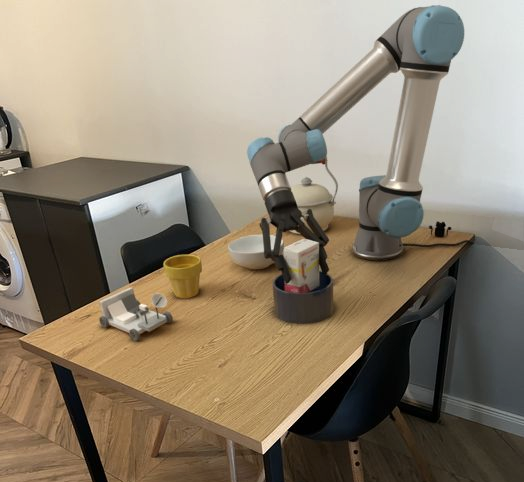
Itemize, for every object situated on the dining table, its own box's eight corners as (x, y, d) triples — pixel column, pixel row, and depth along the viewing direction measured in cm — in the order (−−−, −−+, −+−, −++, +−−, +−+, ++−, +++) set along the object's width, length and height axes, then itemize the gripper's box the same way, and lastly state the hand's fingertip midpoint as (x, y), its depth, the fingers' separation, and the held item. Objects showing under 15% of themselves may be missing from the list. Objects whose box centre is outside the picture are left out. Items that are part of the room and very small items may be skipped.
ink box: (299, 298, 134) (298, 252, 128) (284, 293, 137) (281, 248, 131) (320, 285, 139) (320, 241, 133) (305, 281, 142) (303, 237, 136)
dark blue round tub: (316, 292, 149) (316, 264, 145) (344, 314, 137) (344, 285, 133) (265, 305, 145) (263, 277, 140) (289, 328, 132) (287, 299, 128)
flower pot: (212, 288, 157) (207, 255, 152) (193, 303, 149) (188, 269, 144) (181, 284, 161) (176, 252, 156) (161, 298, 153) (155, 266, 148)
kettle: (345, 222, 198) (345, 150, 185) (329, 239, 184) (328, 162, 171) (281, 218, 208) (277, 149, 195) (261, 234, 193) (255, 161, 181)
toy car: (174, 290, 133) (137, 308, 126) (180, 325, 138) (145, 345, 131) (128, 275, 144) (91, 291, 136) (135, 308, 149) (100, 326, 141)
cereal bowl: (286, 253, 175) (285, 232, 172) (283, 274, 161) (281, 251, 158) (234, 255, 177) (232, 234, 174) (226, 276, 163) (223, 253, 160)
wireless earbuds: (427, 236, 179) (429, 221, 176) (429, 234, 181) (430, 219, 178) (450, 238, 176) (451, 223, 173) (451, 235, 178) (452, 220, 175)
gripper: (313, 197, 144) (342, 273, 140) (234, 212, 138) (262, 292, 133) (322, 181, 137) (353, 260, 133) (239, 195, 131) (269, 280, 126)
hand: (307, 276), depth 133 cm, fingers closed on ink box, 9 cm apart
